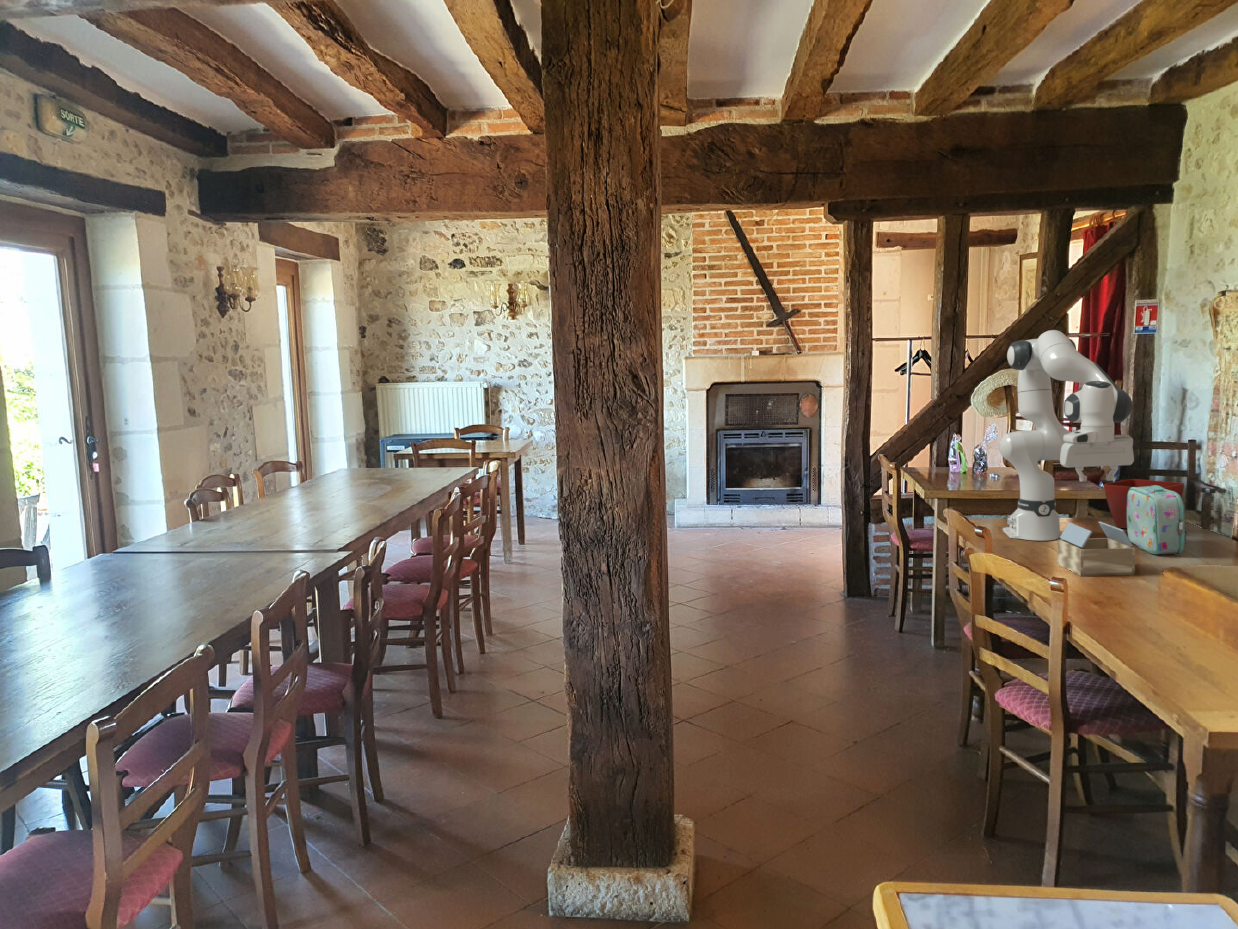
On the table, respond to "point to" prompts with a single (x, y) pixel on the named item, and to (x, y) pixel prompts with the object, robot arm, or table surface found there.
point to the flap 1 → (1076, 535)
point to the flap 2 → (1115, 533)
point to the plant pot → (1119, 492)
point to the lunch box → (1156, 520)
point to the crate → (1097, 557)
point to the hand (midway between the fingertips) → (1096, 480)
